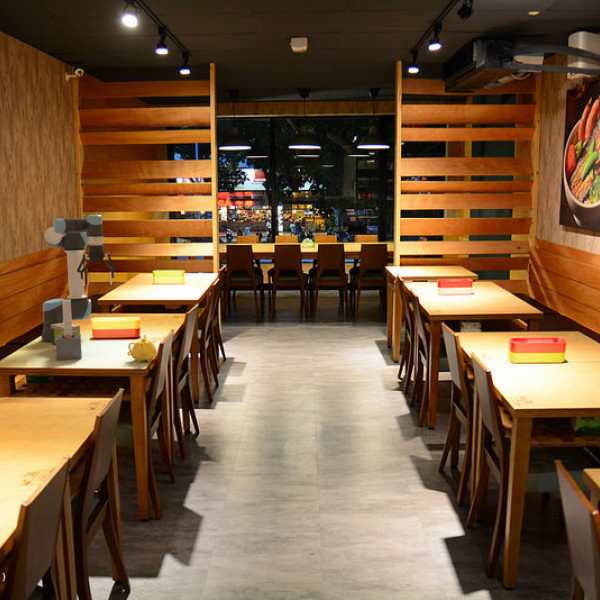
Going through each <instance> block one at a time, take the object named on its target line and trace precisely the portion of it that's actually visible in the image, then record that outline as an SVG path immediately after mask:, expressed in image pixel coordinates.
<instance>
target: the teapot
mask: <svg viewBox="0 0 600 600" xmlns="http://www.w3.org/2000/svg"><path fill="white" fill-rule="evenodd" d="M131 345H133V347H132V349H131ZM128 350H129V351H127V354H126V355H128V357H130V356H131V357H132V359H133V360H136V361H135V363H137V362H138V363H141V362H140V361H151V362H150V363H152V362H153V361H152V360H154V359H155V358H156V357H157V355H158V351H157V348H156V346H155V344H154V343H153V341H152V340H149V339H147V334H145V335H143V337H142V338H140V340H137V341H135V342H134V341H133V342H129V344H128Z"/></svg>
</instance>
